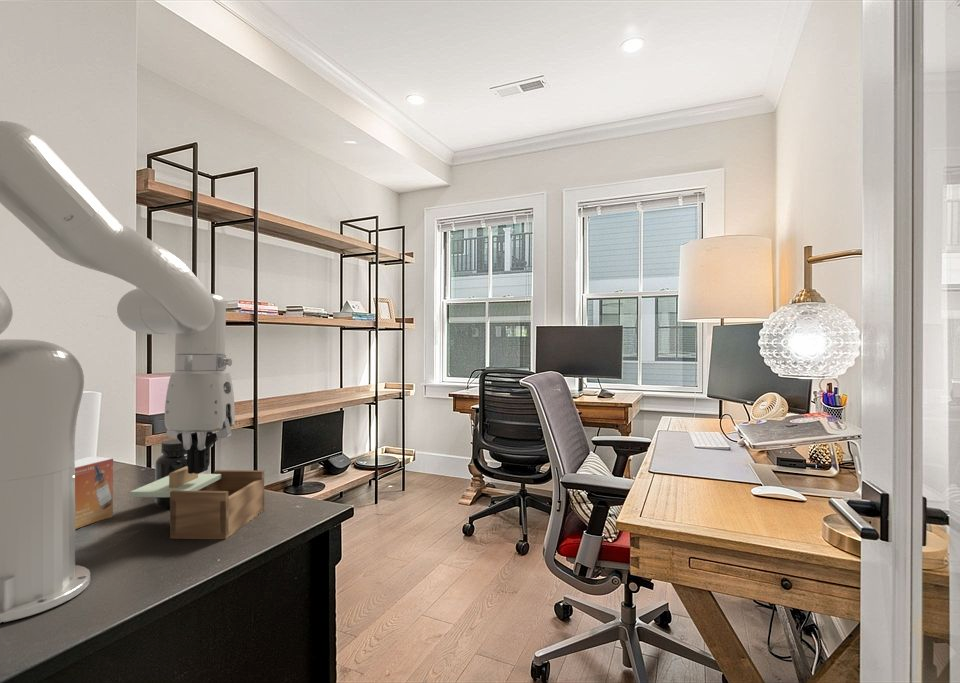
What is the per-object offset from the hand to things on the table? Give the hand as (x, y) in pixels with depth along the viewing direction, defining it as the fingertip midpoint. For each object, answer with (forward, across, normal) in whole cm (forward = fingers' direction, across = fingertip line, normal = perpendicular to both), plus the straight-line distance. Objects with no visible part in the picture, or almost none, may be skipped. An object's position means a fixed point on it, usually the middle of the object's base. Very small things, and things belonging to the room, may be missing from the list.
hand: (198, 471), depth 84 cm
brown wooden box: (+9, -4, 0) cm, 10 cm away
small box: (+9, +21, 0) cm, 23 cm away
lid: (+3, +4, 0) cm, 5 cm away
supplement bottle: (+9, +11, -11) cm, 18 cm away
